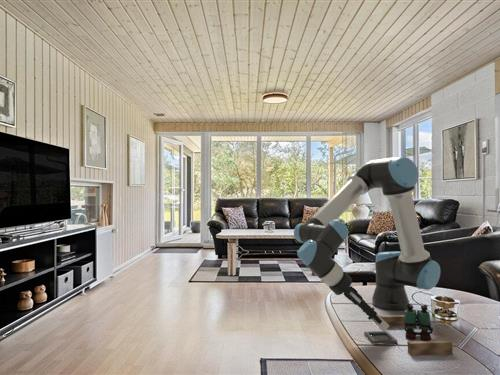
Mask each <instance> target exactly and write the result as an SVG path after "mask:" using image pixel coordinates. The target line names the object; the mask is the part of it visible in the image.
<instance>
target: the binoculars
mask: <svg viewBox="0 0 500 375" xmlns="http://www.w3.org/2000/svg"><path fill="white" fill-rule="evenodd" d="M407 308H408V309H405V310H404V315H405V317H404V326H403V329H404V332H405V337H404V338H406V339H408V340H410V341H416V339H417V336H420V341H432V336H431V335H432V334H433V333H434V327H432V323H431V314H430V312H429V311H428V309H429V308H428V305H427V304H423V305H421V306H420V309H421V310H420V309H417V310H416V309H414V305H413V304H410V303H409V304H407ZM417 328H418V329H419V330H420V331H415V329H417Z"/></svg>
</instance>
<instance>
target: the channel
mask: <svg viewBox="0 0 500 375" xmlns="http://www.w3.org/2000/svg"><path fill="white" fill-rule="evenodd" d="M379 316H380V317H381V318H382V319H383V320H384V321H385V322H386V323H387V324H388V325H389V327H404V317H405V314H395V315H390V314H389V315H387V314H385V315H379ZM453 351H454V350H453V342H452V341H450V340H431V341H422V340H420V341H419V340H417V341H416V340H410V341H407V354H408V353H409V354H410V355H409V354H408V355H409V356H434V354H437V355H438V354H439V355H438V356H441V354H442V355H443V354H444V355H453V354H454V353H453ZM437 355H436V356H437ZM444 355H443V356H444Z"/></svg>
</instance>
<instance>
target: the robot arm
mask: <svg viewBox="0 0 500 375" xmlns="http://www.w3.org/2000/svg"><path fill="white" fill-rule="evenodd" d="M418 178H419V170H418V168H417V165H416V163H415V162H414V161H413V160H412V159H410V157H407V156H393V157H385V158H378V159H372V160H369V161H367V162H365V163H364V164H362V165H361V166H359V167H358V168H357V169H356V170H354V171H353V172H352V173H351V174H350V175H349V176H348V177H347V178H346V179H347V180H346V181H347V182H346V183H344V184H343V185H342V186H341V188H340V189H338V190H337V192H335V194H333V196H332V197H331V198H329V199H328V200H327V202H326V203H324V205H322V207H320V209H318V210H317V211H316V212H315V213H314V214H313V216H311V218H309V219H308V220H307V221H306V222H302V223H301V222H300V223H299V224H297V225H295V227H294V228H293V236H294V239H295V241H297V242H299V243H301V244H302V245H301V246H300V247H299V249H298V250H297V253H296V254H297V257H298V258H299V259H300V261H301V262H302V263H303V264H304V266H306V267H307V268H308V269H309V270H310V271H312V273H313V274H315V275H316V276H317V277H318V279H320V281H319V282H320V283H322V284H323V283H324V284H325V285H326V286H327V287H328V288H329V289H330V290H331V291H332V292H333V294H335V295H337V296H340V295H342V294H343V295H344V297H345V298H346V299H348V300H349V301H351V303H352V304H354V306H357V307H358V308H360V310H361V311H362V312H363V313H364V314H365V315H366V316H368V317H367V319H368V320H369V321H372V322H373V323H374V324H376V326H378V328H380V330H381V331H384V332H385V331H387V330H388V328H390V326H389V325H388V324H387V323H386V322H385V321H384V320H383V319H382V318H381V317H380V316H381V315H380V314H378V313H377V311H375V307H376V306H377V307H376V308H379V309H383V310H389V311H405V310H407V309H408V308H407V304H410V300H409V297H408V294H407V291H406V288H405V286H408V287H412V288H416V289H418V290H426V291H430V290H432V289H434V288H435V287H436V286H437V284H438V282H439V280H440V277H441V267H440V264H439V263H438V262H437V261H435V260H432V257H431V255H430V252H429V251H427V250H426V249H425V247H424V241H423V237H422V234H421V228H420V225H419V220H418V216H417V212H416V207H415V203H414V198H413V195H412V193H413V191H414V190H415V185H416V184H417V183H418V181H419V179H418ZM379 188H380V189H381V190H382V194H383V196H384V197H386V198H388V202H389V203H388V204H389V206H390V210H391V214H392V219H393V223H394V226H395V230H396V235H397V239H398V243H399V249H400V251H396V250H395V251H383V252H378V253H376V255H375V261H374V262H375V264H374V265H375V289H374V292H373V295H372V298H371V302H372V303H373V304H374V305H375V307H371V306H370V305H369V304H368V303H367V302H366V301H365V300H364V298H363V296H362V295H361V294H360V293H358V291H357V290H356V289H355V288H354V287H353V286H352V284H353V279H352V277H351V276H350V275H349V274H348V273H347V272H345V271H344V269H343V268H342V267H341V266H340V265H339V264H338V263H337V262H336V261H334V260H333V258H332V256H334V254H335V253H336V251H338V249H339V247H341V245H342V244H343V243H344V242H345V240H346V238H347V237H348V235H349V234H350V233H349V228H348V227H347V225H346V224H345V223H344V222H342V220H341V221H340V220H339V218H340V217H341V216H342V215H343V214H344V213H345V212H346V211H347V210H348V209H349V208H350V207H351V206H352V205H353V204H354V203H355V202H356V201H357V199H359V198H360V197H361V195H366V194H367V193H368V192H369V191H371V190H373V189H379ZM373 304H372V305H373ZM374 305H373V306H374Z"/></svg>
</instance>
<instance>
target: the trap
mask: <svg viewBox="0 0 500 375" xmlns="http://www.w3.org/2000/svg"><path fill="white" fill-rule="evenodd" d="M363 334H365V335H366V336H367V337H368V338H367V337H366V336H365V335H364V336H365V337H366V338H367V339H368V341H370V343H371V344H372V343H397V344H398V340H397V339H396V338H395V337H394V336H393V335H392V334H391V333H390V332H389V331H388V330H386V331H385V332H384V331H383V330H379V331H378V330H377V331H374V330H372V331H364V332H363ZM371 335H372V336H371Z"/></svg>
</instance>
